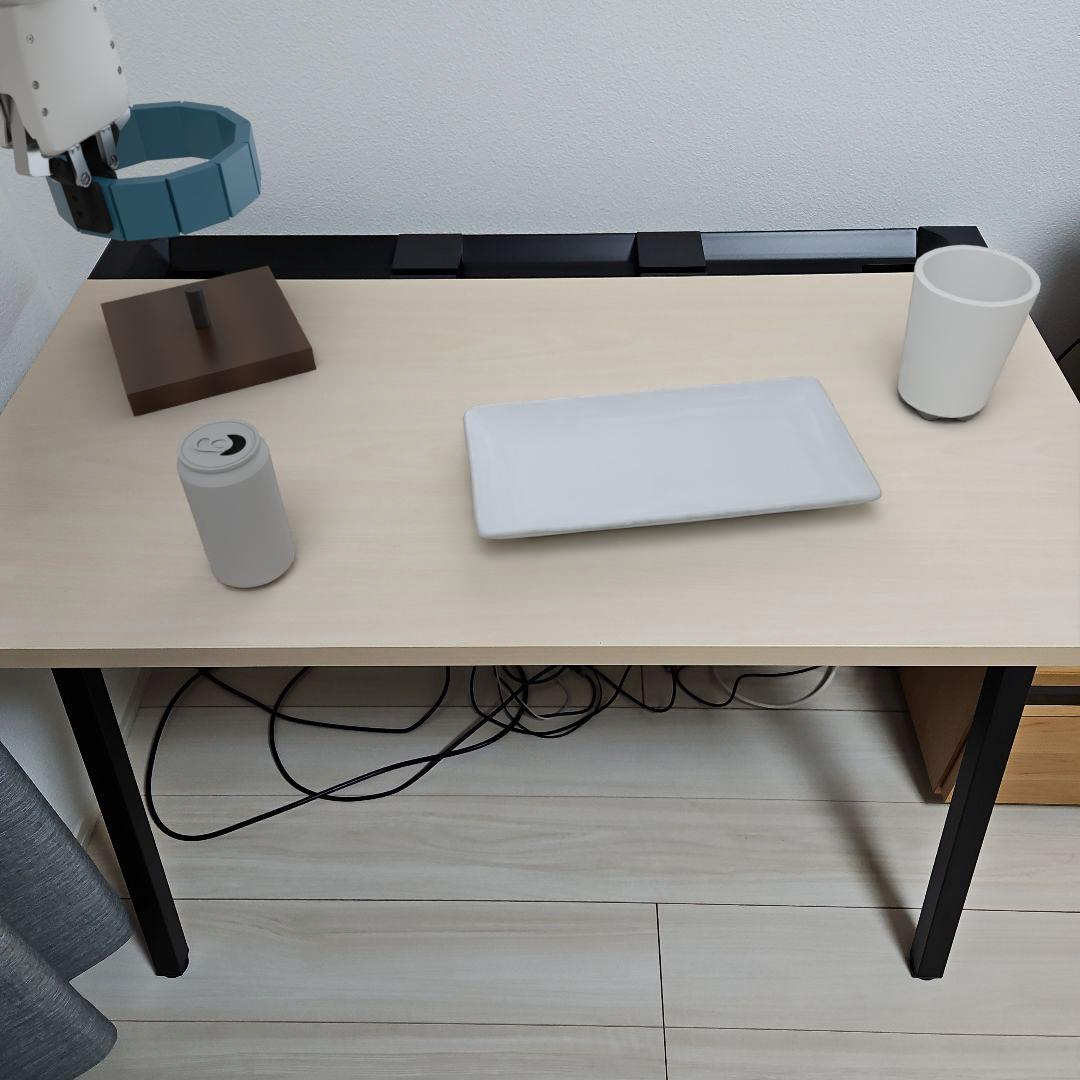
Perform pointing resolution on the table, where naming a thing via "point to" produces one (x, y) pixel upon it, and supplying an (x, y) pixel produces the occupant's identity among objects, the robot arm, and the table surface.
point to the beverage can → (235, 502)
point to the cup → (962, 327)
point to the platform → (205, 339)
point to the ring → (177, 172)
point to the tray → (660, 458)
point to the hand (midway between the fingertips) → (103, 223)
